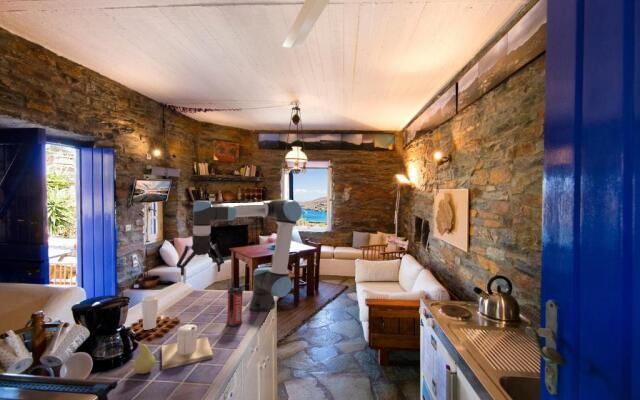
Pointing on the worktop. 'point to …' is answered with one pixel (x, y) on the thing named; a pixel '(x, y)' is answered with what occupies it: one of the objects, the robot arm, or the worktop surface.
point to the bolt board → (174, 359)
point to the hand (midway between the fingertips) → (200, 280)
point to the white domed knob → (187, 339)
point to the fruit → (144, 360)
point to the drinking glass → (149, 312)
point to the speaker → (234, 306)
